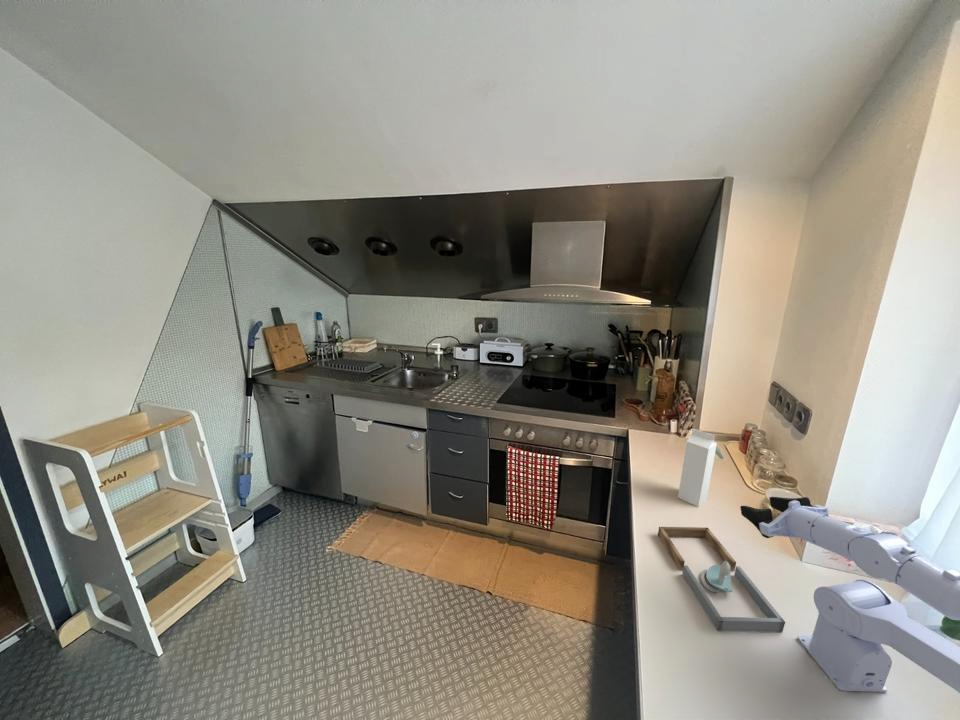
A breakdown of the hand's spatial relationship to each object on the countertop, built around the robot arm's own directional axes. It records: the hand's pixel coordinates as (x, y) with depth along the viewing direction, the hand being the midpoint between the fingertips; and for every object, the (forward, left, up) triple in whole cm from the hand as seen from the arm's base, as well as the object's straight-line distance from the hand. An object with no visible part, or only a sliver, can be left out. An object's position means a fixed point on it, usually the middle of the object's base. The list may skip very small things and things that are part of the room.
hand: (756, 505), depth 84 cm
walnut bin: (+6, +8, -18) cm, 20 cm away
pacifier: (-3, +8, -18) cm, 20 cm away
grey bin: (-8, +8, -18) cm, 21 cm away
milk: (+28, -3, -18) cm, 34 cm away
